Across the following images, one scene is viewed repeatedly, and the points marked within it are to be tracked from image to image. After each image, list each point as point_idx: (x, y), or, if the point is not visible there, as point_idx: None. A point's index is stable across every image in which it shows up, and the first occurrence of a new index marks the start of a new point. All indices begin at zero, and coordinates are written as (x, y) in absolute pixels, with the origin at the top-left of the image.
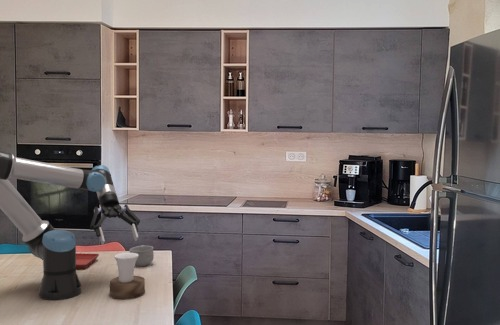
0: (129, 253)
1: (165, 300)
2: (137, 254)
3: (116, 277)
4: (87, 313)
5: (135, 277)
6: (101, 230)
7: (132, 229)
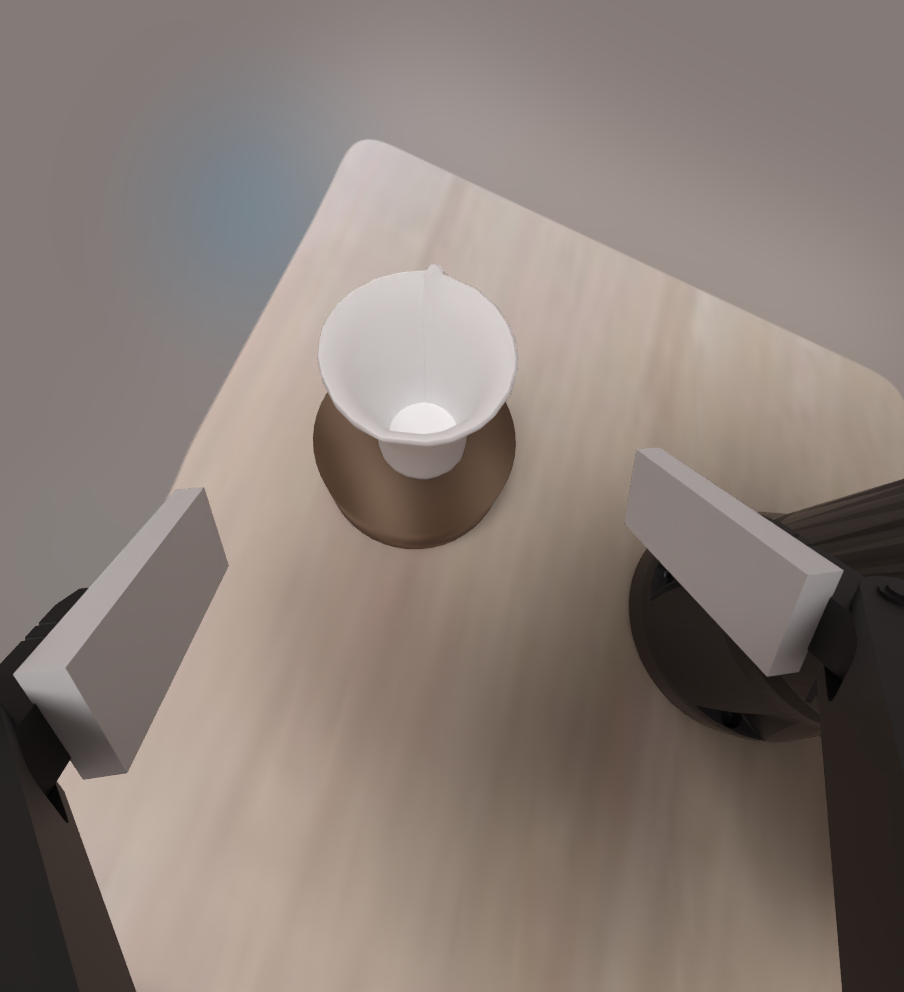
0: (371, 426)
1: (289, 296)
2: (323, 349)
3: (460, 523)
4: (615, 311)
5: (354, 468)
6: (755, 530)
7: (147, 666)
